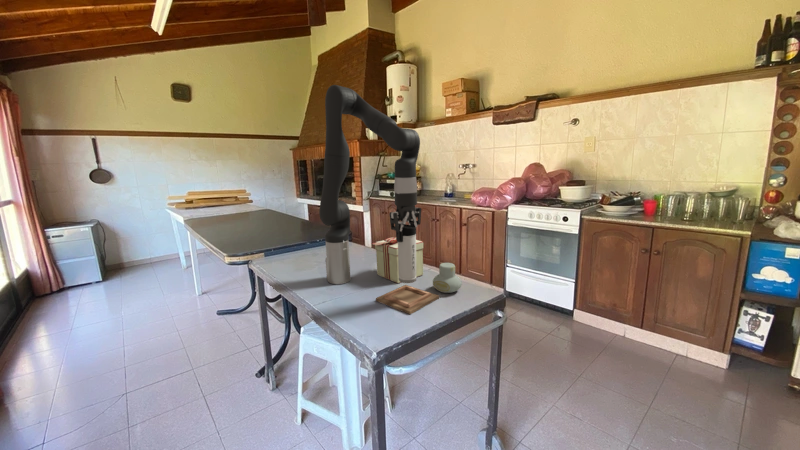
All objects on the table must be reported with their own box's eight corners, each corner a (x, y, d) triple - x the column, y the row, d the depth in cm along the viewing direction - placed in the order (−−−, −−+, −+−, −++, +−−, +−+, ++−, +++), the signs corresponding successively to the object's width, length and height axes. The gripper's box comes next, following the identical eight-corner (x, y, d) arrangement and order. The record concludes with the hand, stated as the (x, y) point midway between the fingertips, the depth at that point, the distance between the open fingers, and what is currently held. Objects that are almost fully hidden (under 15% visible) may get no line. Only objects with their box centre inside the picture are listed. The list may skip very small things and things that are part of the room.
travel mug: (397, 277, 117) (395, 223, 112) (415, 276, 117) (414, 222, 113) (398, 284, 110) (397, 226, 106) (417, 282, 111) (417, 226, 107)
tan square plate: (375, 300, 115) (375, 295, 114) (405, 287, 126) (405, 282, 126) (410, 314, 104) (410, 308, 104) (439, 298, 116) (439, 292, 115)
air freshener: (429, 290, 123) (429, 265, 121) (440, 283, 129) (440, 259, 127) (454, 297, 116) (455, 270, 114) (465, 289, 123) (465, 264, 121)
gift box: (395, 265, 152) (395, 229, 149) (425, 274, 139) (425, 235, 136) (367, 274, 141) (366, 236, 137) (397, 286, 128) (396, 243, 124)
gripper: (410, 188, 115) (411, 234, 119) (382, 192, 105) (383, 242, 108) (427, 189, 110) (427, 237, 114) (399, 193, 100) (400, 246, 103)
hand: (406, 239), depth 111 cm, fingers closed on travel mug, 6 cm apart
